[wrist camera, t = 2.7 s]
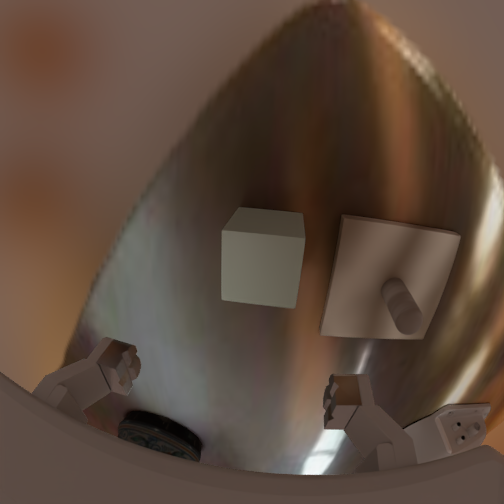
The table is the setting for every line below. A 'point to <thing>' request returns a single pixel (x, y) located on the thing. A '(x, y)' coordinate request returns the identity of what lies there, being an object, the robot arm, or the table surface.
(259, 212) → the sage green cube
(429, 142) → the table surface
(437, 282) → the post stand
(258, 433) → the table surface
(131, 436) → the beer stein
